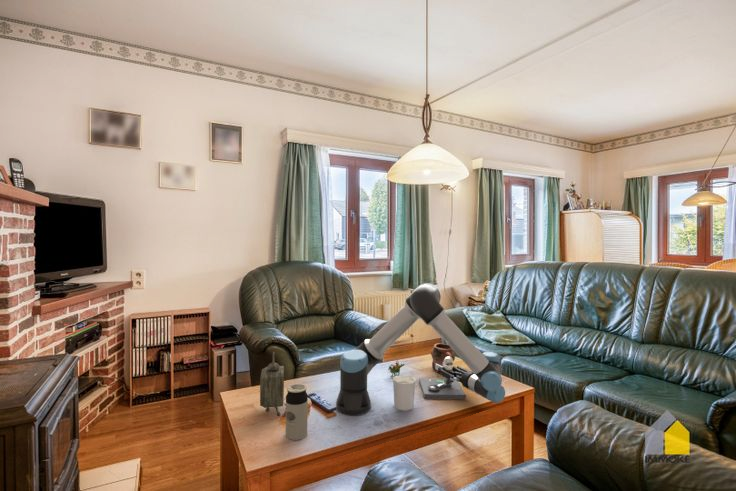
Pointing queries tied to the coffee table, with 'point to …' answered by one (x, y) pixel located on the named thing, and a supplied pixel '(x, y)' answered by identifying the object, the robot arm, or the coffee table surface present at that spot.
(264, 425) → the coffee table surface
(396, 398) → the candle holder
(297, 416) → the travel mug
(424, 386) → the dial board
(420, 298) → the robot arm
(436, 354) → the decorative planter
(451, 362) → the shiny silver rounded post
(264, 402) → the grey upright ornament
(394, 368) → the figurine
